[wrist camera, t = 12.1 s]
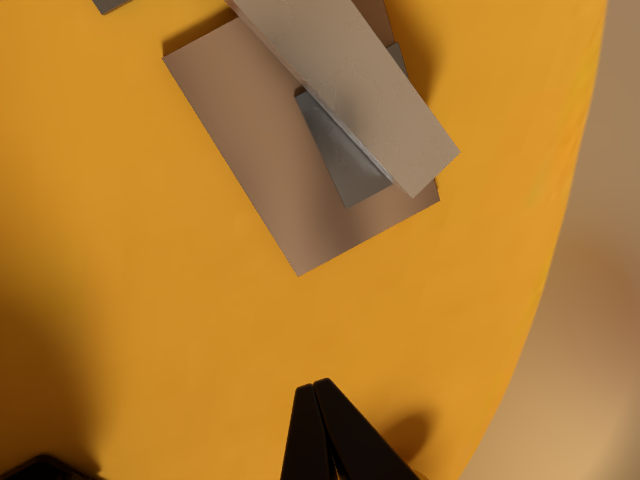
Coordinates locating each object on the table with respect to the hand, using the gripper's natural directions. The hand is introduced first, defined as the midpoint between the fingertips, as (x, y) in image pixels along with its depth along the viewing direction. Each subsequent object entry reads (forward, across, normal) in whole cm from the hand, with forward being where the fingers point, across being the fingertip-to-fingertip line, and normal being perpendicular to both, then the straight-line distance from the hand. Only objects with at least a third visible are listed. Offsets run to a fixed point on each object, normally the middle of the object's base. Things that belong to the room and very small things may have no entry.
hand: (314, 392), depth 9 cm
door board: (+11, -4, -3) cm, 12 cm away
